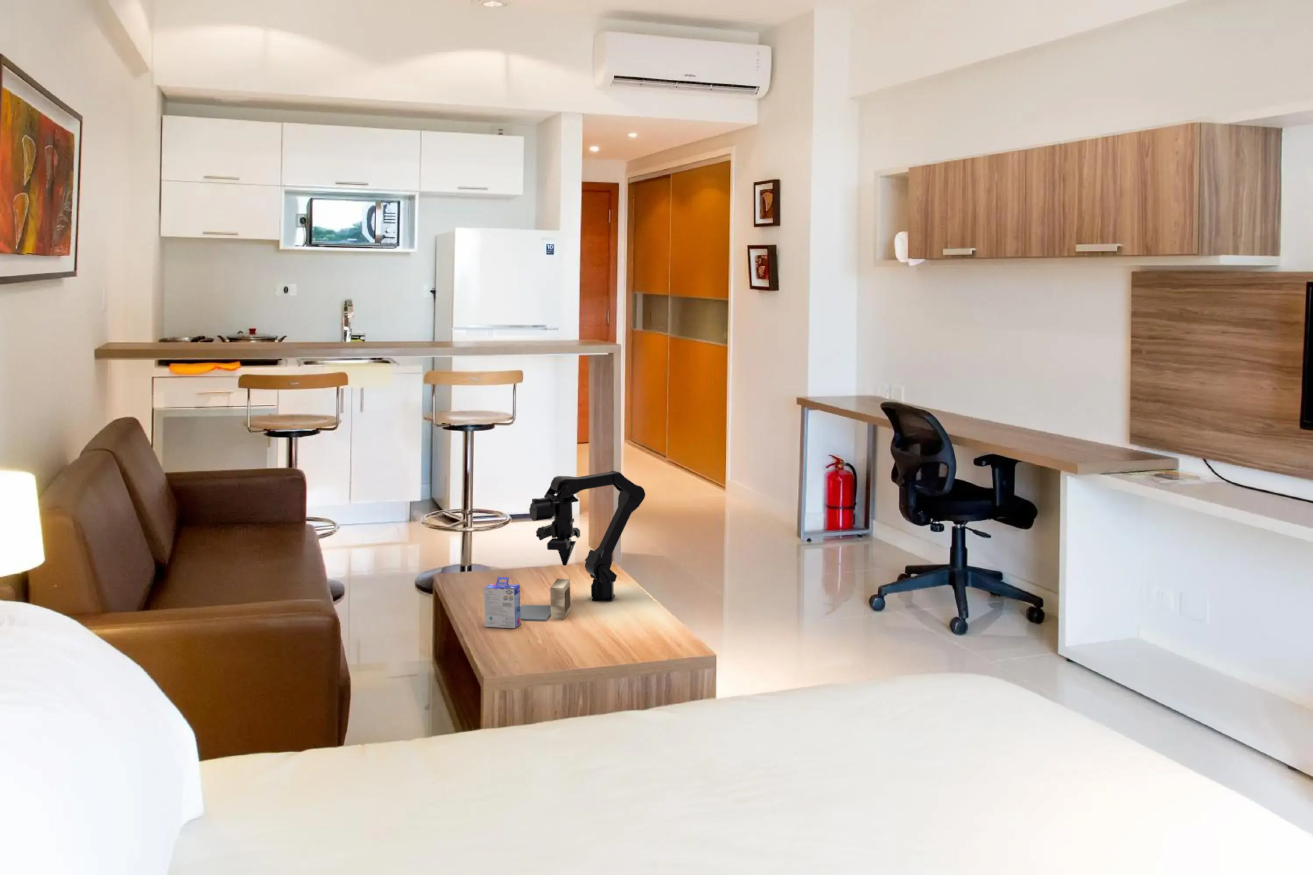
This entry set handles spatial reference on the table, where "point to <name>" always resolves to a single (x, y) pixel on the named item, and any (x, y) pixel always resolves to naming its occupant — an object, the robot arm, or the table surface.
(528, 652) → the table surface
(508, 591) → the ink cartridge box
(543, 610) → the mat
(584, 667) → the table surface
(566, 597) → the wooden block
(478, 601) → the table surface
